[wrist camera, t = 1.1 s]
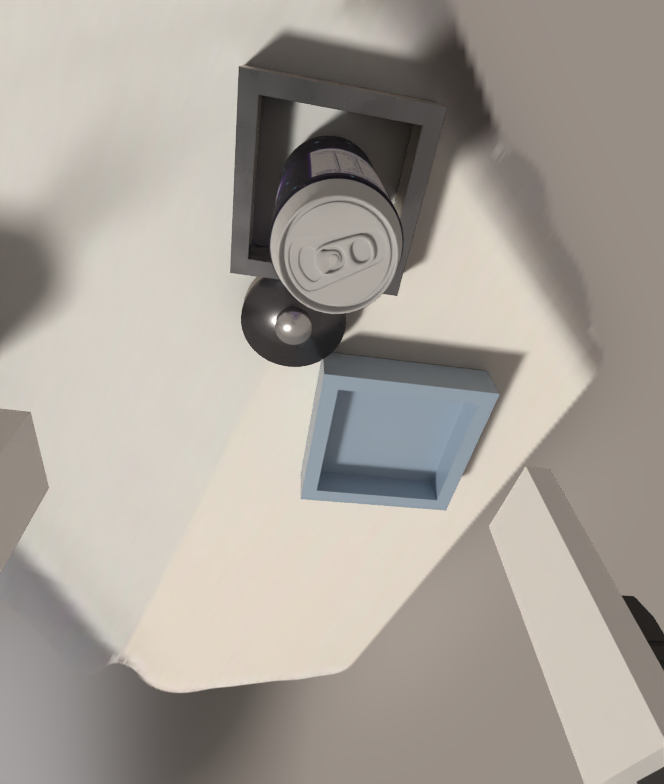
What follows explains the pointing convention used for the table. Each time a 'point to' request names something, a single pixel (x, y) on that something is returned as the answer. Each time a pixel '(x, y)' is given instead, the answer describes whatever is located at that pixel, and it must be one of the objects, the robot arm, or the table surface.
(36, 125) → the table surface
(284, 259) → the beverage can
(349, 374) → the tray
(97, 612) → the table surface
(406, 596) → the table surface
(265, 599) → the table surface
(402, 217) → the grey flat rectangular frame
